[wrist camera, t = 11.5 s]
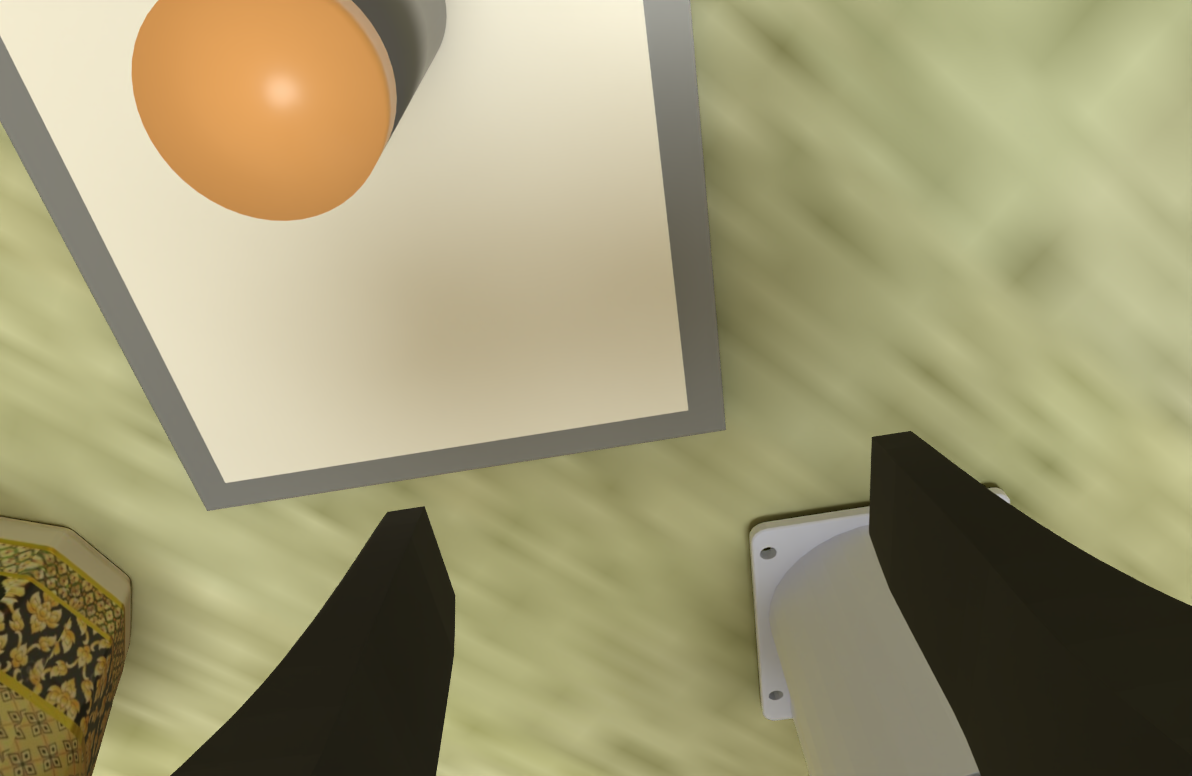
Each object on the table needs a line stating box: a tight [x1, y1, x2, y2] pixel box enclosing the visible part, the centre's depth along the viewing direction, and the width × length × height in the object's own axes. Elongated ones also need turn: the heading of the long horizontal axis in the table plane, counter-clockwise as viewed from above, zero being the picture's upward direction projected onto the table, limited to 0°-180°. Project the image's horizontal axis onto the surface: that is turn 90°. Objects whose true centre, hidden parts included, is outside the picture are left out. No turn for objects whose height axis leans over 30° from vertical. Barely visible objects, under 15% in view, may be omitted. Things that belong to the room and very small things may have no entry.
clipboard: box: [0, 0, 726, 511], centre depth 18 cm, size 20×15×2 cm
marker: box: [132, 0, 447, 221], centre depth 14 cm, size 3×3×8 cm
